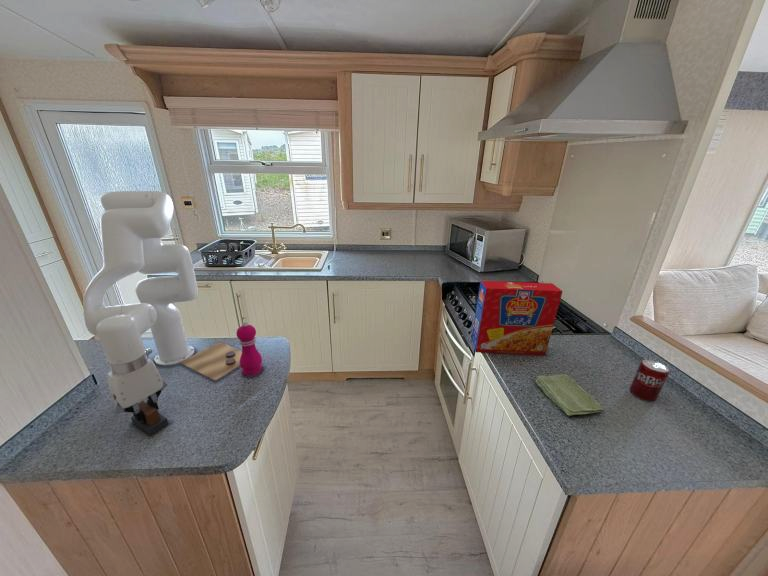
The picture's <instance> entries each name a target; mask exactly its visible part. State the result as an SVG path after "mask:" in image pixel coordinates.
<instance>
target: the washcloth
mask: <svg viewBox="0 0 768 576" xmlns="http://www.w3.org/2000/svg"><path fill="white" fill-rule="evenodd" d="M534 381H535V384H536V385H537V386H538V387H539V388H540V389H541V390H542V391H543V393H544V394H545V395H546V396H547V397H548V398H549V399H550V400H551V401H552V402H553V403H554V404H555V405H556V406H557V407H558V408H559V409H560V410H562V411H563V412H564V414H565V415H567V416H568V417H571V416H577V415H590V414H597V413H603V412H604V408H603V406H602V405H601V404H600V403H599V402H598V400H596V398H595V397H594V396H592V395H591V394H590V393H588V391H587V390H585V389H584V388H583V387H582V386H580V385H579V384H578V383H577V382H576V381H575V380H574V379H573V378H571V377H570V376H569V375H568V374H565V373H558V374H552V375H537V376H535V378H534Z"/></svg>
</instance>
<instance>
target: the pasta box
mask: <svg viewBox="0 0 768 576" xmlns="http://www.w3.org/2000/svg"><path fill="white" fill-rule="evenodd" d="M562 295H563V290H562V289H560V288H559V287H558V286H556V285H555V284H554V283H553V282H528V281H527V282H526V281H503V280H502V281H499V280H497V281H496V280H480V281H479V288H478V294H477V299H476V300H477V301H476V307H475V312H474V319H473V320H474V321H473V326H472V332H471V339H470V343H471V345H472V347H473V349H474V352H475V353H481V354H507V355H509V354H510V355H533V356H546V355H547V351H548V348H549V343H550V339H551V336H552V333H553V329H554V325H555V322H556V318H557V314H558V310H559V307H560V303H561V299H562Z"/></svg>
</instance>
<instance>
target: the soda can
mask: <svg viewBox="0 0 768 576" xmlns="http://www.w3.org/2000/svg"><path fill="white" fill-rule="evenodd" d="M670 373H671V371H670V369H669V367H668V366H666V365H665V364H663V363H661V362H659V361H657V360H654V359H642V360H641V361H640V363H639V365H638V367H637V370H636V372H635V375H634V376H633V379H632V381H631V384H630V386H629V391H630V393H631V394H632V395H633V396H634V397H635V398H637V399H638V400H641V401H644V402H649V403H653V402H656V401H657V400H658V398H659V396H660V394H661V392H662V390H663V388H664V385H665V383H666V381H667V379H668V377H669V375H670Z"/></svg>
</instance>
